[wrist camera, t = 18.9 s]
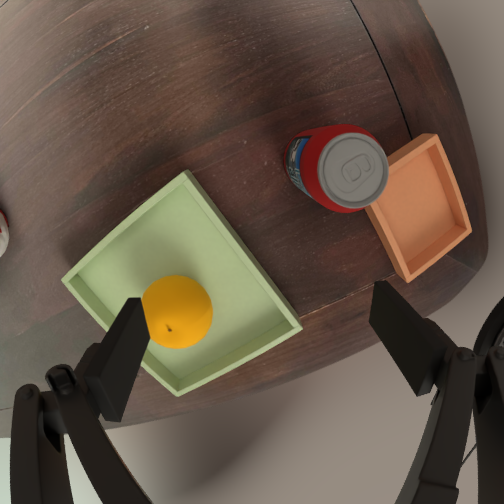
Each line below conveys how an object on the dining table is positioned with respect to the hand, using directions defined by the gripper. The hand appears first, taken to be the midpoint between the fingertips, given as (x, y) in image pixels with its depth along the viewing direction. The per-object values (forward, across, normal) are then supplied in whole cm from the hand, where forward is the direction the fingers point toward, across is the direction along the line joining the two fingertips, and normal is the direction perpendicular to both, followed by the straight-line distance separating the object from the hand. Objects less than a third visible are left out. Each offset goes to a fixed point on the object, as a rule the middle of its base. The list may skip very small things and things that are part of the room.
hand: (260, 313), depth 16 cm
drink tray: (+18, +20, +2) cm, 27 cm away
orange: (+17, -8, -8) cm, 21 cm away
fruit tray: (+18, -8, -8) cm, 21 cm away
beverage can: (+18, +7, +7) cm, 20 cm away
